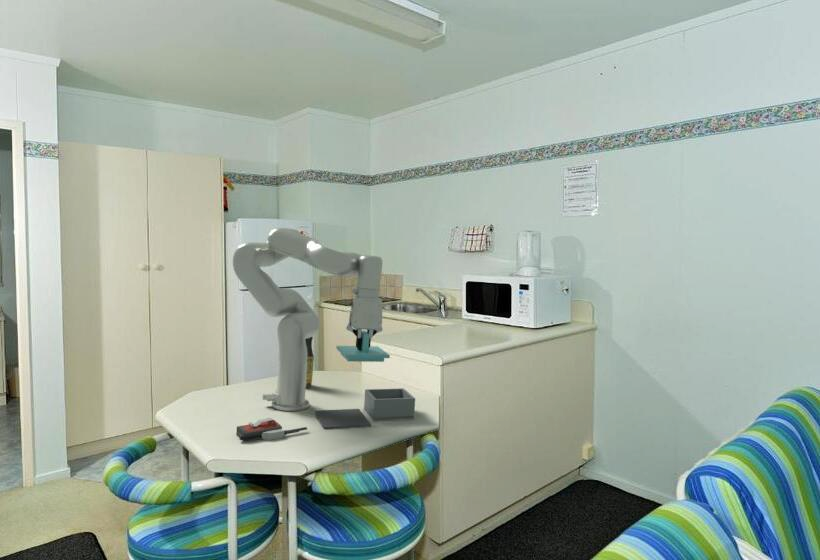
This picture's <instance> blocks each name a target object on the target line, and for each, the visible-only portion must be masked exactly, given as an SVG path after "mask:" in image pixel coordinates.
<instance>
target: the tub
mask: <svg viewBox="0 0 820 560" xmlns="http://www.w3.org/2000/svg"><path fill="white" fill-rule="evenodd" d="M363 403H364V404H363V411H365V413H366V412H367V413H366V414H367V415H368V417H369V418H370V417H371V418H370V419H371V420H372V421H373V422H378V421H401V420H402V421H403V420H414V418H415V408H416V398H415V396H413V395H412V394H411V393H410V392H409V391H408V390H407V389H406V388H399V387H398V388H373V389H372V388H367V389H364V402H363Z"/></svg>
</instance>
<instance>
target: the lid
mask: <svg viewBox="0 0 820 560" xmlns="http://www.w3.org/2000/svg"><path fill="white" fill-rule="evenodd" d="M361 336H362V349H361V351H360V350H358V349H357V347H356V345H336V348H335V349H336V350H337V351H338V352H339V353H340V355H341V356H342V357H343V358H344V359H345V360H346V361H347V362H355V363H356V362H359V363H361V362H365V363H366V362H367V363H368V362H370V363H372V362H373V363H374V362H375V363H377V362H379V363H383V362H385V359H390V358H391V357H390V356H391V355H390V354H389V353H387V352H386V351H385V350H384V349H382V348H381V347H379V346H377V345H376V346H372V345H370V348H369V337H370V334H369V333H367V330H366V329H362V333H361ZM368 348H369V350H368Z"/></svg>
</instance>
